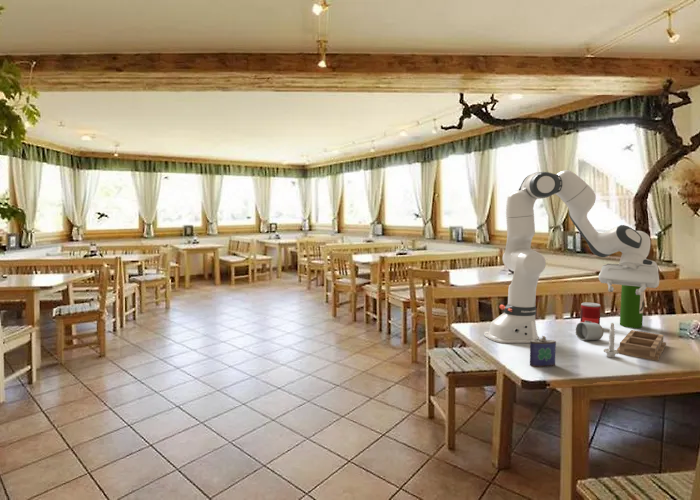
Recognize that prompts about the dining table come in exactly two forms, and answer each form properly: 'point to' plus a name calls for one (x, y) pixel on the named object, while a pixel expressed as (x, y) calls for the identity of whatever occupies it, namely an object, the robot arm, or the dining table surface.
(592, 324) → the ceramic mug
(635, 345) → the rack
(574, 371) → the dining table surface
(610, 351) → the screw
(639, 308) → the wine bottle
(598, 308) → the canned food
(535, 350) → the flask
